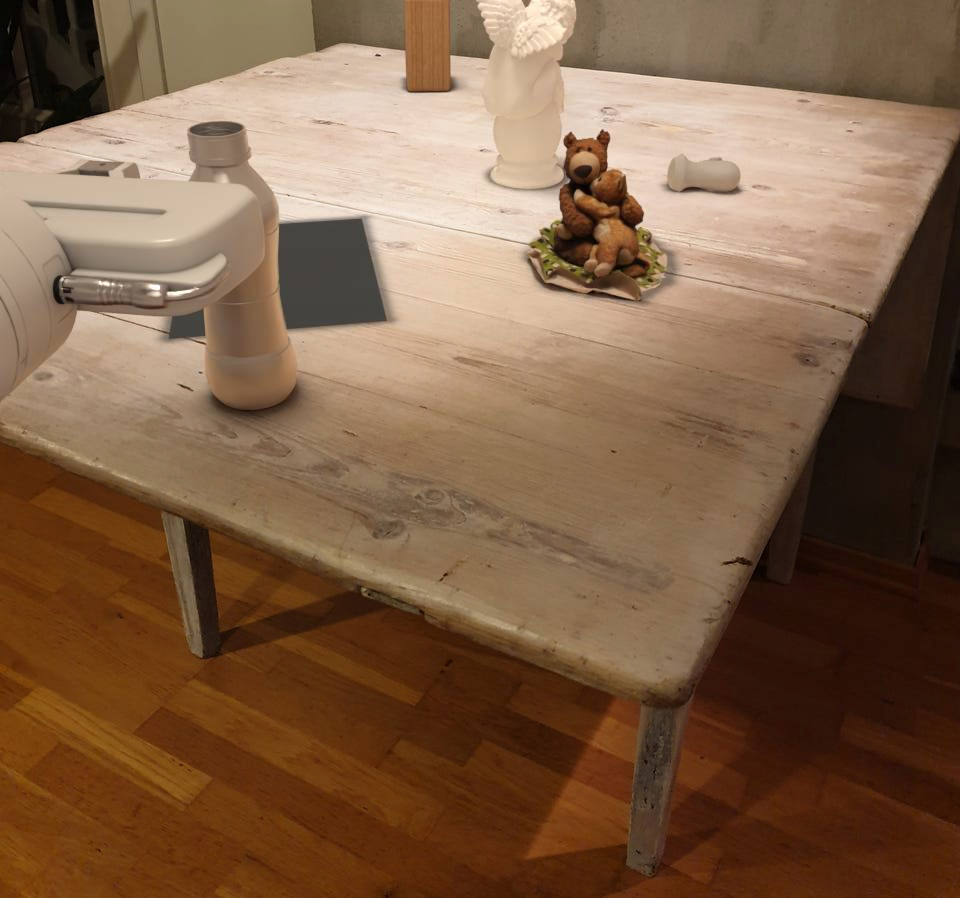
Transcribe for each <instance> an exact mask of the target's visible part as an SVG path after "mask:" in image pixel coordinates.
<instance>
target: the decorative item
mask: <svg viewBox="0 0 960 898" xmlns="http://www.w3.org/2000/svg"><path fill="white" fill-rule="evenodd" d="M402 3H403V24H404V27H403V28H404V30H403V31H404V56H405V57H404V58H405V75H406V76H405V82H406V85H405V87H406V90H407V91H409V92H411V93H412V92H415V93H416V92H418V93H419V92H448V91H450V90H451V87H452V85H451V84H452V83H451V82H452V80H451V79H452V77H451V75H452V74H451V0H403V2H402Z"/></svg>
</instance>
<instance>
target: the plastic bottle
mask: <svg viewBox="0 0 960 898" xmlns="http://www.w3.org/2000/svg"><path fill="white" fill-rule="evenodd" d="M246 128H247V127H246V125H245V124H243V123H242V122H241V123H240V122H238V121H231V120H213V121H204V122H199V123H196V124H194V125H191V126H189V127H188V128H187V129H186V132H187V133H186V136H187V141H188V147H189V150H188V155H189V160H190V162H192V163H193V164H195V169H194V170H193V171H192V174H191V175H190V177H189V179H188V181H193V182H210V183H232V184H241V185H244V186H246V187H248V188H249V189H250V190H251V191H252V192H253V193H254V194H255V195H256V197H257V199H258V201H259V205H260V209H261V214H262V220H263V227H264V236H265V256H264V259H263V261H262V263H261V264H260V265H259V266H258V267H257V269H256V270H254V271H253V272H252V273H251V274H250V275H249V276H248V277H247V278H246V279H245V280H243V281H242V282H241V283H240V284H238V285H237V286H236V287H235V288H233V289H232V290H231V291H230V292H228V293H227V294H226V295H224V296H223V297H221V298H220V299H219V300H217V301H216V302H214V303H213V304H211V305H209V306H207V307H205V308H204V321H205V334H206V336H205V350H204V374H205V378H206V380H207V383H208V386H209V388H210V391H211V393H212V394H213V396H215V398H216V399H218V400H219V401H220V402H221V403H222V404H223V405H225V406H227V407H229V408H232V409H236V410H242V411H255V410H263V409H268V408H271V407H274V406H276V405H277V406H278V405H279V404H280V403H282V402H284V401H285V400H287V398H288V397H289V396H290V395H291V393H292V391H293V390H294V388H295V386H296V384H297V376H298V375H297V373H298V361H297V358H296V354H295V349H294V346H293V344H292V340H291V338H290V336H289V333H288V329H287V327H286V322H285V318H284V313H283V308H282V303H281V298H280V285H279V282H278V281H279V269H278V241H279V224H280V205H279V202H278V200H277V198H276V195H275V193H274V191H273V190H272V188H271V187H270V186H269V185H268V184H267V182H266V181H265V179H264V178H263V177H262V176H261V175H260V174H259V173H258V172H257V171H256V170H255V169H254V168H253V167H252V166H251V164H250V163H249V160H250V159H251V158H252V155H253V154H252V148H251V146H250V145H249V138H248V132H247V129H246Z"/></svg>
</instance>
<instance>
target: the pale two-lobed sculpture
mask: <svg viewBox="0 0 960 898" xmlns="http://www.w3.org/2000/svg"><path fill="white" fill-rule="evenodd" d="M666 180H667V185H668V188H669V189H670V190H672V191H674V192H678V193H681V192H682V191H684V190H685V189H688V188H697V189H700V190H705V191H709V192H719V193H729V192H731V191H733V190H735V189H736V188H737V186H738V185H739V183H740V181H741V170H740V168H739V166H738V165H737V164H736V163H734V162H733V161H729V160H723V158H722V156H713V157H710V158H708V159H704V160H701V161H699V162H695V161H691V160H690V159H689V158H687V157H686V156H685V155H684V154H683V153H681V154H678V155H677V156H674V157H673V158H672V159H671V160H670V162H669V165H668V168H667V179H666Z"/></svg>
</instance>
